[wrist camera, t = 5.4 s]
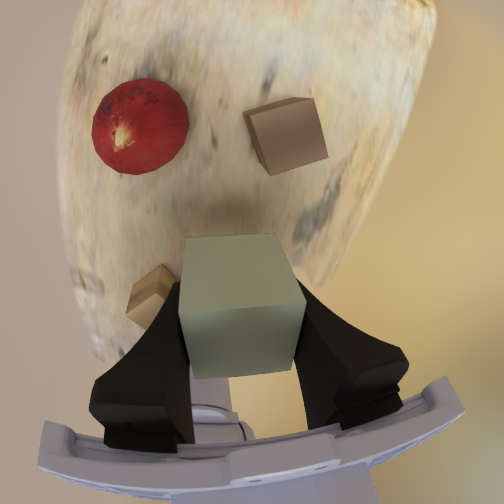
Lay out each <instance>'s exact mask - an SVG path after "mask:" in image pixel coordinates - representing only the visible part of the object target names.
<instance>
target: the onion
mask: <svg viewBox="0 0 504 504" xmlns="http://www.w3.org/2000/svg"><path fill="white" fill-rule="evenodd" d="M188 129H189V119H188V112H187V106H186V105H185V103H184V102H183V100H182V98H181V97H180V95H179V94H178V92H177V91H175V90H174V89H173V88H171V87H170V86H169V85H167V84H166V83H165V82H162V81H158V80H153V79H148V78H143V79H138V80H133V81H128V82H125V83H122V84H120V85H119V86H118V87H116V88H115V89H114V90H112V91H111V92H110V93H108V94H107V95H106V96H104V98H103V99H102V101H101V103H100V105H99V107H98V109H97V111H96V113H95V115H94V117H93V125H92V139H93V143H94V147H95V151H96V152H97V154H98V155H99V156H100V158H101V159H102V160H103V161H104V163H105V164H107V165H108V166H110V167H111V168H112V169H114V170H115V171H117V172H118V173H125V174H133V175H140V174H144V173H148V172H152V171H155V170H157V169H159V168H160V167H162V166H163V165H165V164H166V163H168V162H169V161H171V160H172V159H173V158H174V156H175V155H176V154H177V152H178V151H179V150H180V149H181V147H182V146H183V145H184V142H185V139H186V135H187V132H188Z"/></svg>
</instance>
